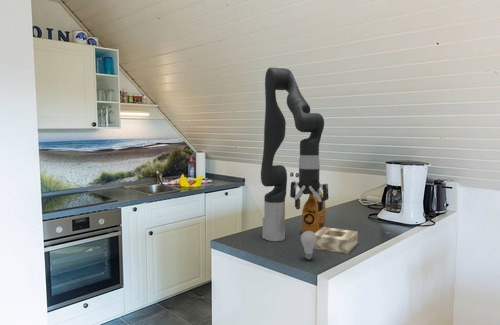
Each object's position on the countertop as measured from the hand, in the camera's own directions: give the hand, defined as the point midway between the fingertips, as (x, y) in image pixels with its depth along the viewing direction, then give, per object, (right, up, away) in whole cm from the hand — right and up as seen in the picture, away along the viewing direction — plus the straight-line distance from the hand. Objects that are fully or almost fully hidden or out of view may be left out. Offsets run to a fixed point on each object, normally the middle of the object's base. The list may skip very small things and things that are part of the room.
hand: (308, 210), depth 137 cm
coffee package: (+8, -16, +38) cm, 42 cm away
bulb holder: (+14, -18, +18) cm, 29 cm away
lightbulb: (0, -19, +2) cm, 19 cm away
